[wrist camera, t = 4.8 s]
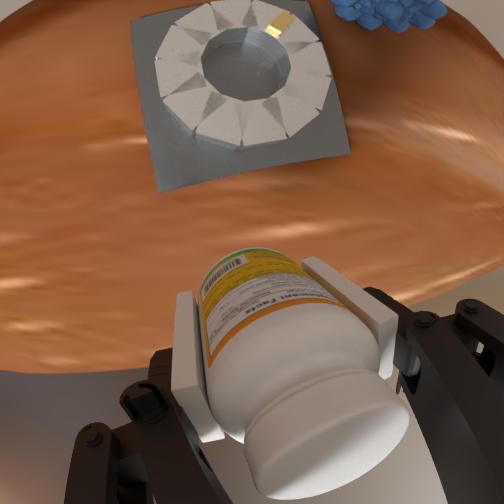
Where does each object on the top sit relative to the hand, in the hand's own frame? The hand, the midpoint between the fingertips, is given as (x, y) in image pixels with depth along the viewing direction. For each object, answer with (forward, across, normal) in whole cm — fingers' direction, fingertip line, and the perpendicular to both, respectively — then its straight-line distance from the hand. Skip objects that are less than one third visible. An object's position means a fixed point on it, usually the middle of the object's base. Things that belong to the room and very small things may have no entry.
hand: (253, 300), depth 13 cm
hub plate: (+13, +5, +15) cm, 20 cm away
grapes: (+13, +21, +23) cm, 33 cm away
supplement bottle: (+1, 0, 0) cm, 1 cm away
